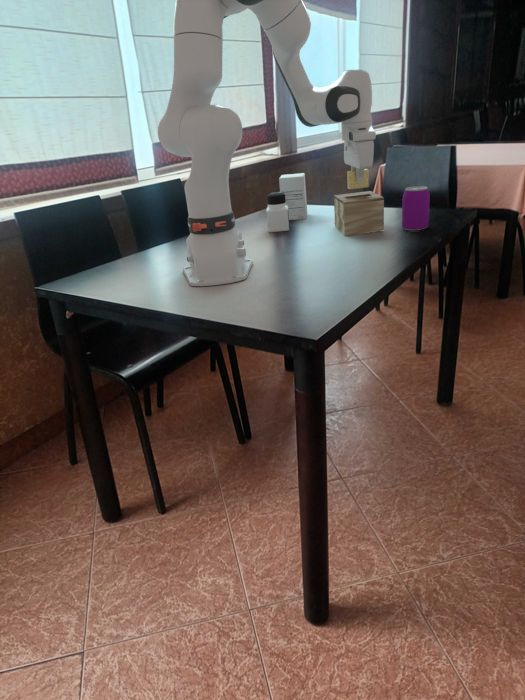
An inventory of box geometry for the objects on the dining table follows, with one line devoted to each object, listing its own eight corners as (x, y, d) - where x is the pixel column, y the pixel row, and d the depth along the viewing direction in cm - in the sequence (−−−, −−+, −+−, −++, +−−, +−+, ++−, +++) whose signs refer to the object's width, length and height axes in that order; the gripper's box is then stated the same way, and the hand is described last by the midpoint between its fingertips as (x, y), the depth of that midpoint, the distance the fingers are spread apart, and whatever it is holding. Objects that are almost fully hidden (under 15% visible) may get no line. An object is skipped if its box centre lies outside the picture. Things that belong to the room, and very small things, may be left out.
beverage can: (426, 225, 152) (428, 184, 146) (429, 231, 145) (431, 188, 140) (400, 226, 153) (401, 186, 148) (402, 232, 146) (403, 190, 141)
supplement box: (284, 215, 188) (280, 174, 181) (307, 214, 186) (305, 172, 180) (281, 220, 180) (278, 178, 173) (306, 219, 178) (303, 175, 172)
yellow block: (368, 186, 150) (368, 169, 148) (349, 189, 150) (349, 172, 148) (366, 185, 152) (366, 168, 150) (347, 188, 152) (347, 171, 150)
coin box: (383, 231, 150) (383, 197, 146) (345, 235, 150) (344, 202, 146) (370, 222, 163) (370, 190, 159) (335, 226, 163) (333, 195, 158)
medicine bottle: (289, 230, 164) (286, 193, 159) (268, 232, 164) (264, 195, 159) (289, 226, 170) (286, 190, 165) (268, 228, 171) (265, 192, 166)
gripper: (338, 132, 154) (339, 179, 160) (355, 135, 135) (356, 187, 141) (358, 130, 154) (359, 176, 160) (377, 132, 135) (377, 184, 141)
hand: (357, 181), depth 150 cm, fingers closed on yellow block, 2 cm apart
